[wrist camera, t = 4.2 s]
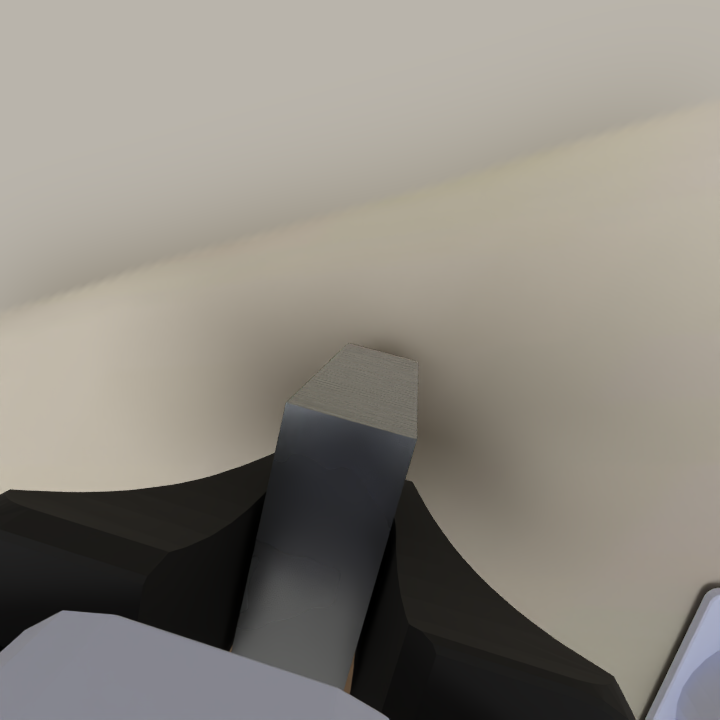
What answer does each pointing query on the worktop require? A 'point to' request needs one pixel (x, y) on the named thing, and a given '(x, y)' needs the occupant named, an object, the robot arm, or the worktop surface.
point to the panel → (329, 513)
